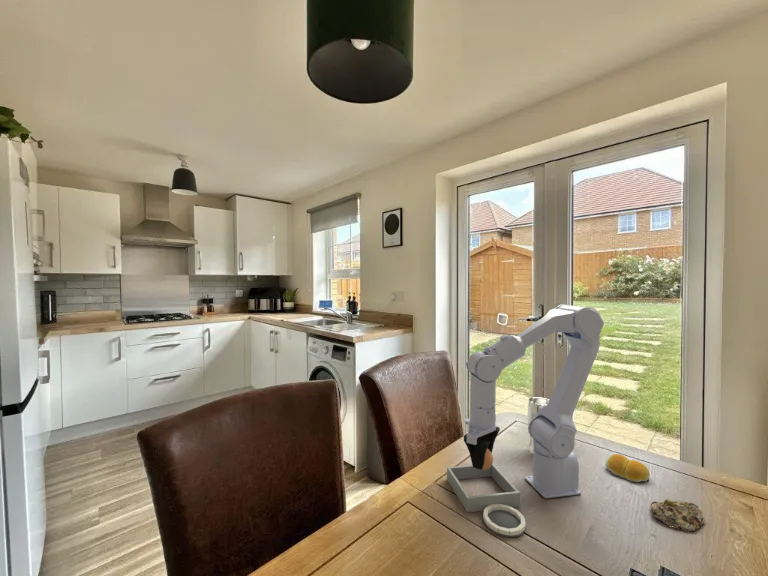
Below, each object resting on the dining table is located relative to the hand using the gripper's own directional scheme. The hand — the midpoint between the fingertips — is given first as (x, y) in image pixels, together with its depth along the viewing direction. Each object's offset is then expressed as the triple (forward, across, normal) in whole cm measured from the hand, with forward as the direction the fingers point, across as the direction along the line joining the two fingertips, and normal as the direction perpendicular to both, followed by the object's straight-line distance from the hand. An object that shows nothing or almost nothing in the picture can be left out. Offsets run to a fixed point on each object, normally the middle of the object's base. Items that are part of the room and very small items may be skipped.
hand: (481, 462), depth 80 cm
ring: (+7, +7, +7) cm, 12 cm away
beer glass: (+7, -28, +8) cm, 29 cm away
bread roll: (+8, -30, +28) cm, 42 cm away
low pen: (+7, 0, 0) cm, 7 cm away
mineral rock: (+8, -15, +37) cm, 41 cm away
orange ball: (-1, 0, 0) cm, 1 cm away
